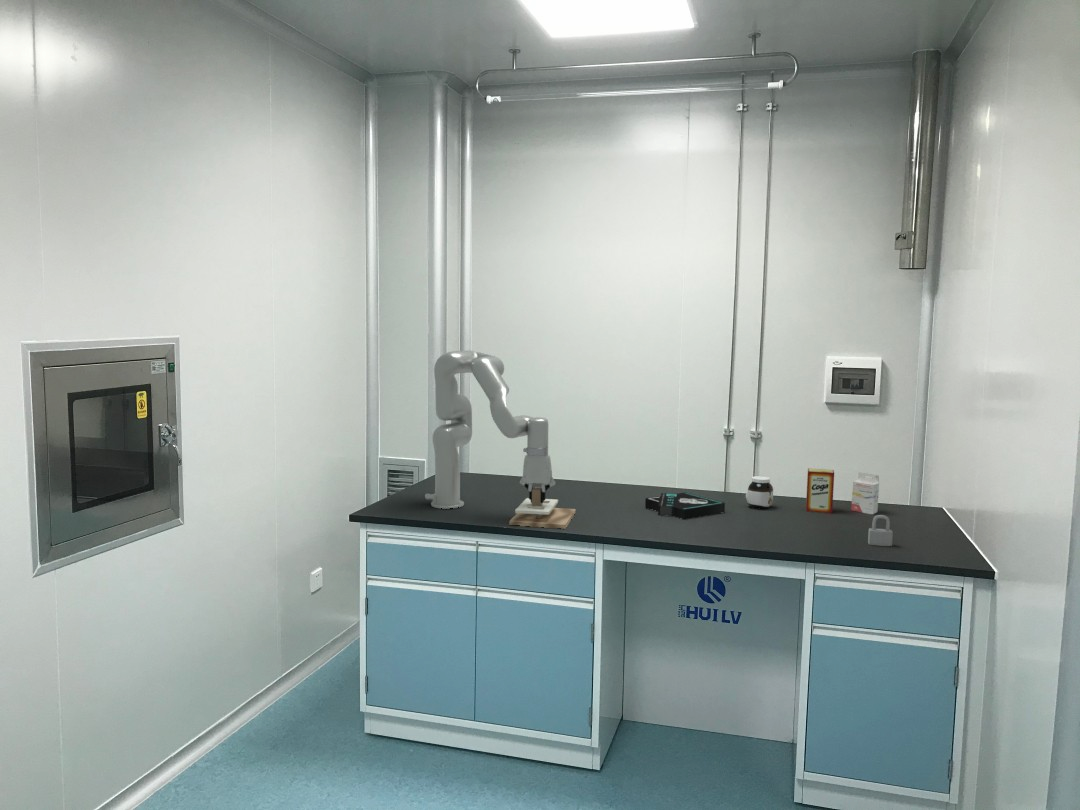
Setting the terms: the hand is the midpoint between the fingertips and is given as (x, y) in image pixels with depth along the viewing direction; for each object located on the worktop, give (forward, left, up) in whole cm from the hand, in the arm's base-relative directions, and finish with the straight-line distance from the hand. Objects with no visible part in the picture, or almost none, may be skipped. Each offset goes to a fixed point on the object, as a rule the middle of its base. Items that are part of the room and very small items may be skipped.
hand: (537, 501), depth 300 cm
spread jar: (+80, +41, -7) cm, 90 cm away
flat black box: (+52, +27, -7) cm, 59 cm away
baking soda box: (+103, +39, -7) cm, 111 cm away
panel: (0, 0, -2) cm, 2 cm away
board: (+2, 0, -6) cm, 7 cm away
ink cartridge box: (+120, +41, -7) cm, 127 cm away
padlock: (+116, -7, -7) cm, 117 cm away
